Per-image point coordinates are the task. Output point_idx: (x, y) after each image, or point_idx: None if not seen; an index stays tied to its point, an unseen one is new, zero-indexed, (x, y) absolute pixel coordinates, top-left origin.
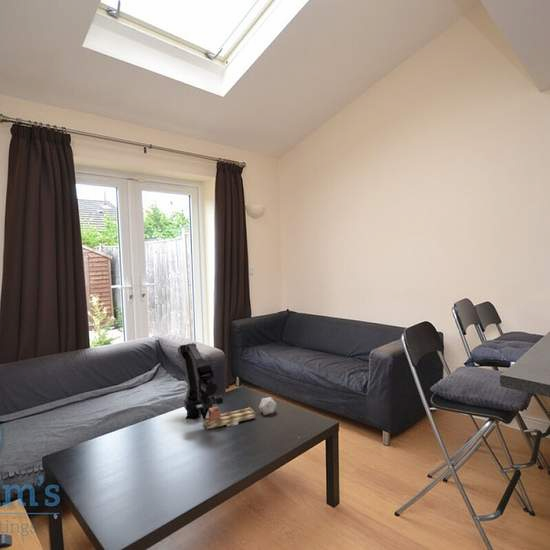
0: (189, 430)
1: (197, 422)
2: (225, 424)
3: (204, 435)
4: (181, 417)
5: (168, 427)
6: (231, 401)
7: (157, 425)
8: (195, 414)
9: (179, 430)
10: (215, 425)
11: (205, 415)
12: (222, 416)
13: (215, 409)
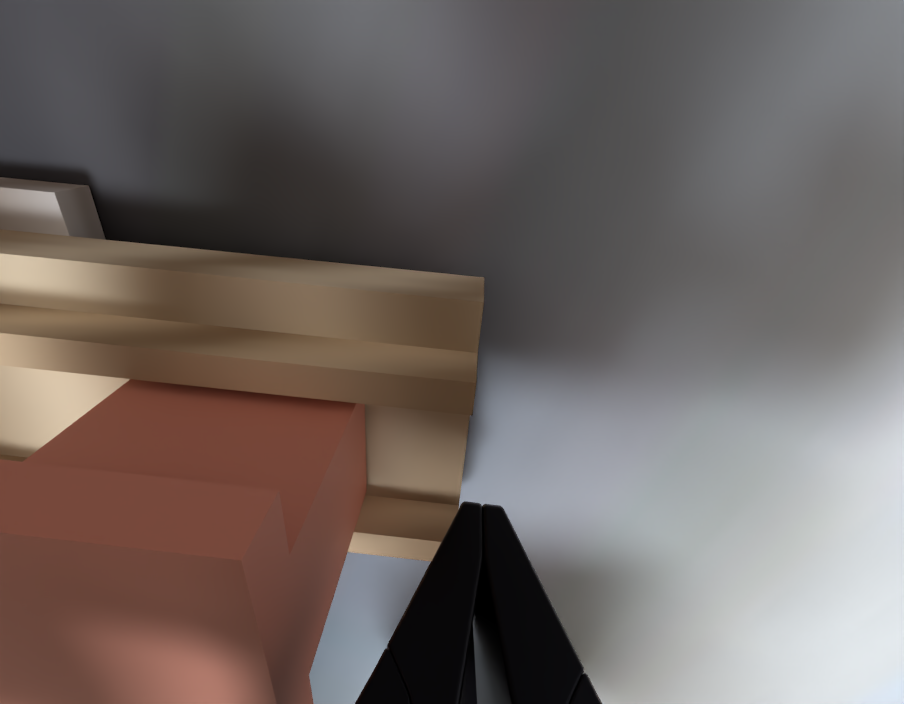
0: (714, 440)
1: None
2: (91, 238)
3: (620, 114)
4: None
5: (856, 623)
6: None
7: (901, 697)
8: (474, 683)
9: (821, 509)
10: (296, 271)
11: (452, 578)
12: None
13: (61, 673)
